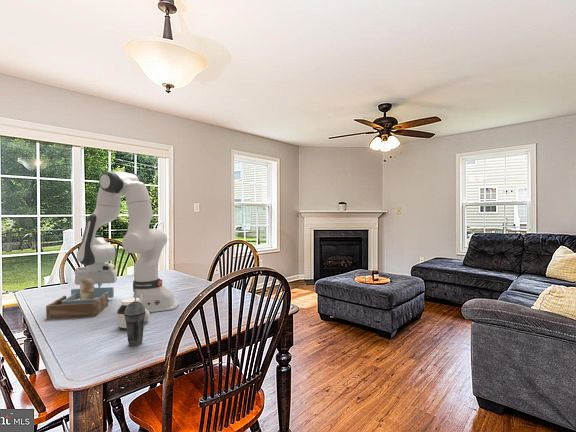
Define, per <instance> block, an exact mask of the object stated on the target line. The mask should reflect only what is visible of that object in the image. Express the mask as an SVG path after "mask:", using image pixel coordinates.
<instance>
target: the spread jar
mask: <svg viewBox="0 0 576 432" xmlns="http://www.w3.org/2000/svg"><path fill="white" fill-rule="evenodd" d="M132 302H135V298H133V297H127V298H123V299H122V300H121V305H120V306H119V308H117V313H116V323H117V327H118V329H120V330H122V331H127V327H126V320H125V315H124V313H125V309H126V307H127V306H128V305H129V304H130V303H132ZM136 302H140V299H139V298H136ZM145 311H146V313H145V318H144V323H145V322H147V321H148V320H150V318H151V314H150V313H151V312H149V311H148V310H147V309H146V308H145Z"/></svg>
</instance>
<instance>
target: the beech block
mask: <svg viewBox="0 0 576 432" xmlns="http://www.w3.org/2000/svg"><path fill="white" fill-rule="evenodd" d="M94 287H95V285H94V280H93V279H92V278H89V279H82V280H80V285H79V289H80V300H88V299H94Z"/></svg>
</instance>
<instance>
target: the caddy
mask: <svg viewBox="0 0 576 432" xmlns="http://www.w3.org/2000/svg"><path fill="white" fill-rule="evenodd" d="M66 298H67V295H63V296H61V297H59V298H57V299H56V300H54V301H53V302H51V303H49V304H47V305H46V306H45V310H46V311H45V313H46V314H45V316H46V318H45V319H46V320H59V319H60V320H61V319H73V318H74V319H75V318H87V317H88V318H89V317H97V316H98V315H99V314H100V313H101V312H102V311H103V310H104V309H106V308H107V307H108V306H109V298H108V294H104V295H103V296H102V297H101V298H99V299H98V300H97V301H95V302H94V303H81V304H64V305H61V301H63V300H64V299H66Z"/></svg>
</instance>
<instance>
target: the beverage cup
mask: <svg viewBox="0 0 576 432" xmlns="http://www.w3.org/2000/svg"><path fill="white" fill-rule="evenodd" d="M145 313H146V311H145V307H144V305H143V304H142V303H140V302H136V289H135V302H132V303H130V304H129V305H128V306H127V307H126V309H125V313H124V315H125V320H126V327H127V330H126V336H127V344H128V347H130V348H131V347H139V346H140V345H142V344H143V337H144V326H145V322H144V318H145Z"/></svg>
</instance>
